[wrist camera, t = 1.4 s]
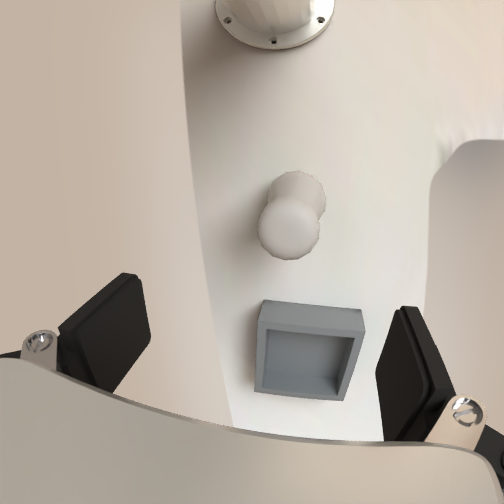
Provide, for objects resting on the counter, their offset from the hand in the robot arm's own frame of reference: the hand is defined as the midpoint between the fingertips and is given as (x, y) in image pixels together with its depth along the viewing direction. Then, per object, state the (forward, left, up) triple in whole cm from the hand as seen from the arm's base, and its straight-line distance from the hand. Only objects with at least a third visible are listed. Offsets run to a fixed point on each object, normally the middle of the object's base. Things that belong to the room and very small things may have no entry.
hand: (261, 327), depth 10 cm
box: (+19, +3, -23) cm, 30 cm away
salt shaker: (0, 0, -23) cm, 23 cm away
